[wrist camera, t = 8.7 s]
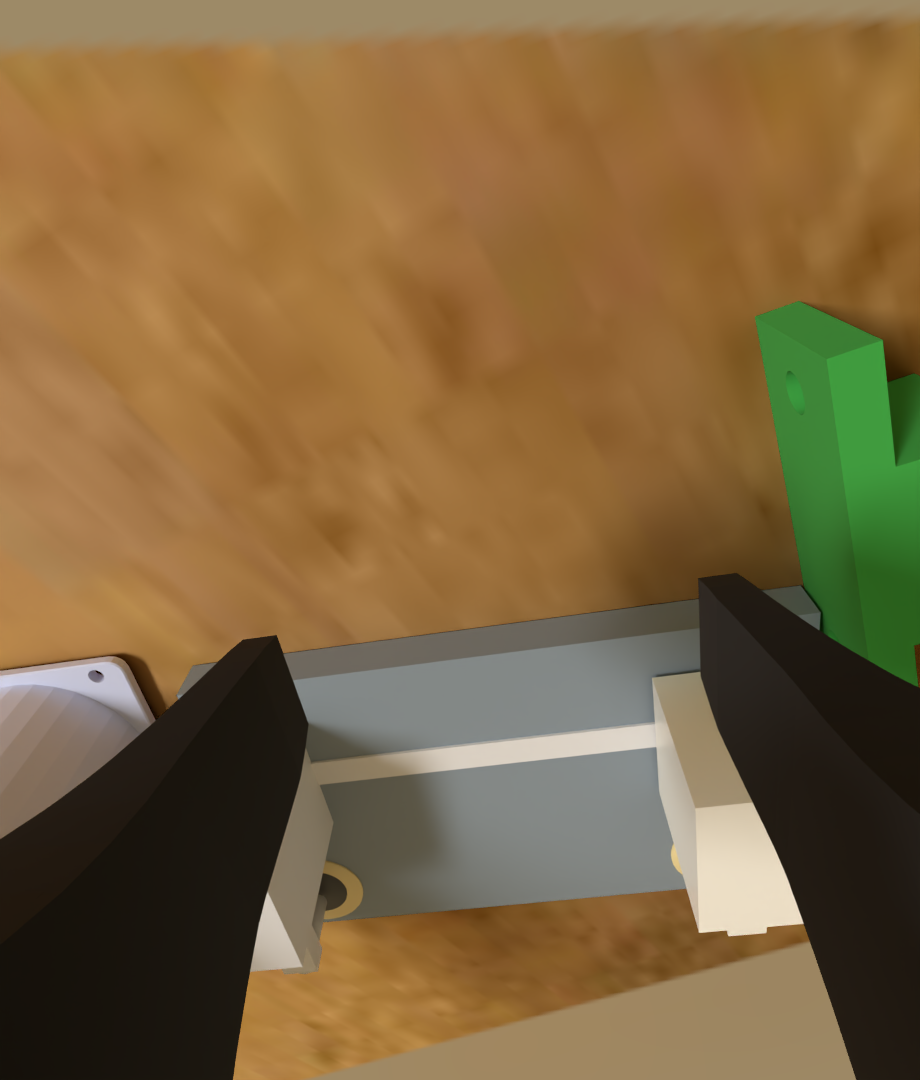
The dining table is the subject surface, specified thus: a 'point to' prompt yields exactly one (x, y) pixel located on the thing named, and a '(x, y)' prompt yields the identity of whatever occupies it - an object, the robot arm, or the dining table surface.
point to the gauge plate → (479, 771)
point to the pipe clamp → (849, 479)
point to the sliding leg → (715, 818)
